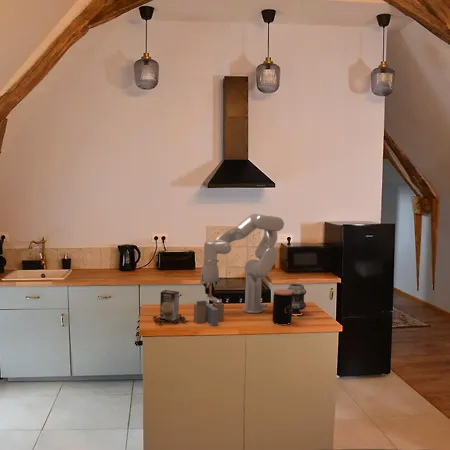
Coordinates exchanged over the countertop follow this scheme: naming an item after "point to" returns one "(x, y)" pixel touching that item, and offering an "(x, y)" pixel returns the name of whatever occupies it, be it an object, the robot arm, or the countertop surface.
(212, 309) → the grey twin block
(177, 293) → the coffee box
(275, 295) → the coffee jar
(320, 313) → the countertop surface
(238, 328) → the countertop surface
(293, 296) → the apothecary jar
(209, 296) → the swing bar
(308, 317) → the countertop surface
